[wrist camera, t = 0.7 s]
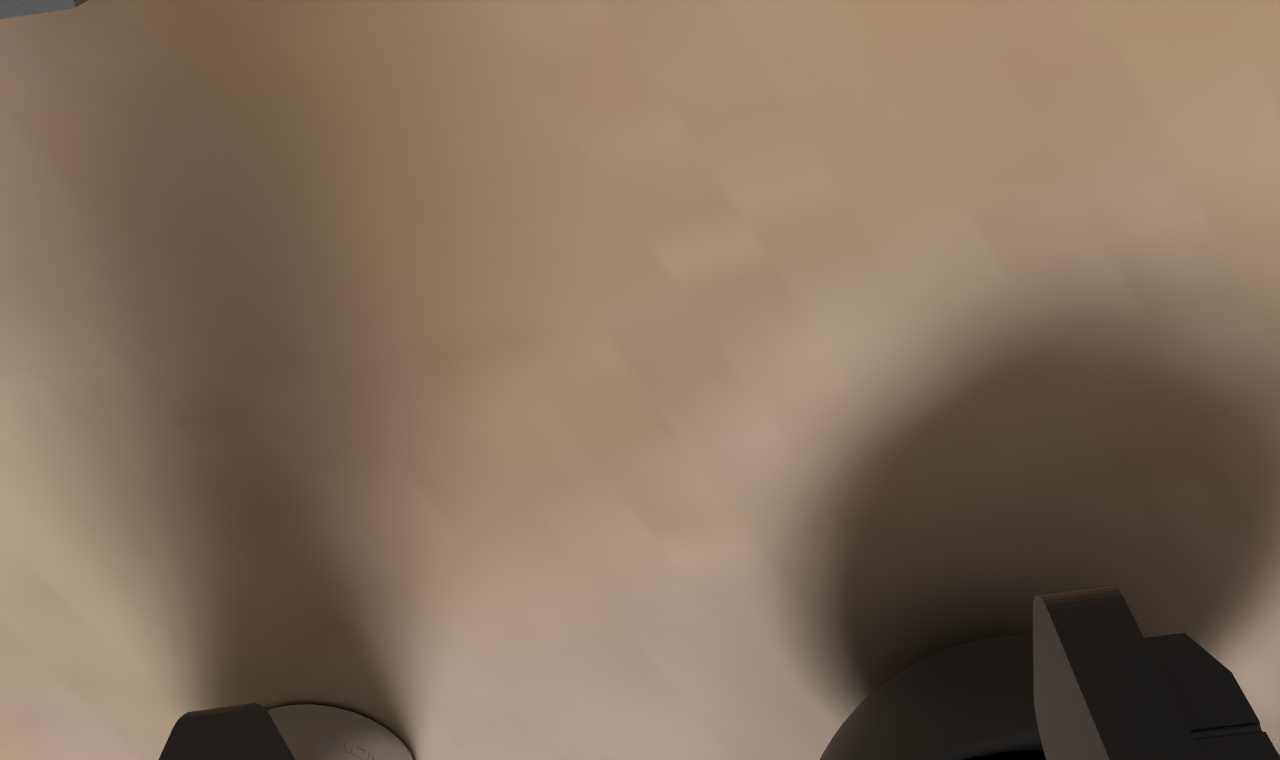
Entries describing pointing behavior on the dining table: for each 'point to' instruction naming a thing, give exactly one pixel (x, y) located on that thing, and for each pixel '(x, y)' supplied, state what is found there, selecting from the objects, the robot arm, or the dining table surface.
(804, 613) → the dining table surface
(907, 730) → the bowl of black rocks
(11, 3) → the socket
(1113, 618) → the robot arm
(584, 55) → the dining table surface
